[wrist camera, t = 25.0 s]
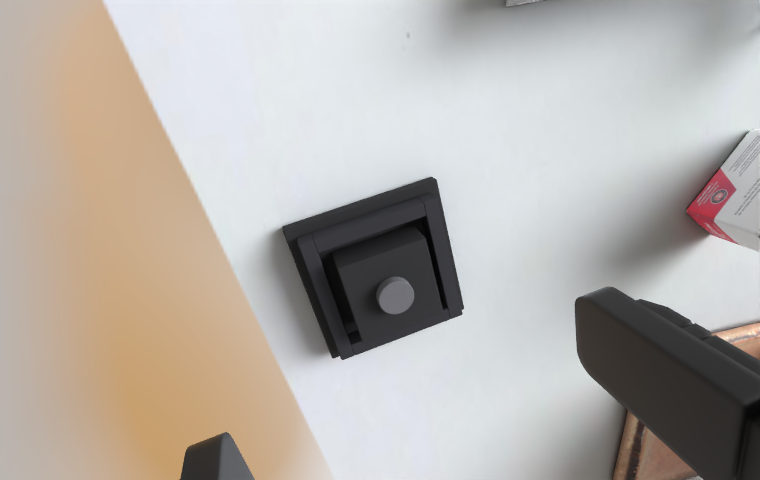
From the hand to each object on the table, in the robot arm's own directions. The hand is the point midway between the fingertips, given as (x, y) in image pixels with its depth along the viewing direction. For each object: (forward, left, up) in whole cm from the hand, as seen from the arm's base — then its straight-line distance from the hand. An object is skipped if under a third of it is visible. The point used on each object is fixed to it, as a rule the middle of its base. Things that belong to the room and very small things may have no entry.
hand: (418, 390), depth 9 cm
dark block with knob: (+4, -7, -20) cm, 22 cm away
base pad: (+4, -7, -21) cm, 23 cm away
